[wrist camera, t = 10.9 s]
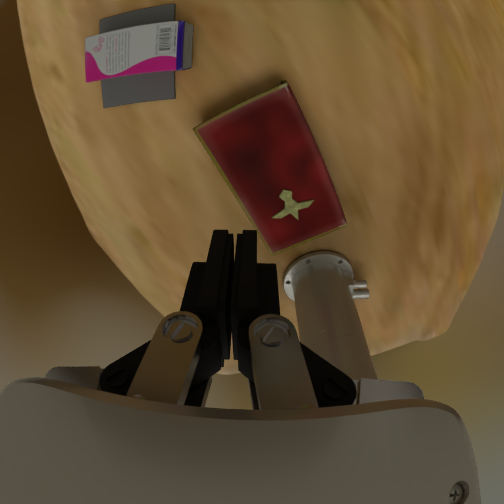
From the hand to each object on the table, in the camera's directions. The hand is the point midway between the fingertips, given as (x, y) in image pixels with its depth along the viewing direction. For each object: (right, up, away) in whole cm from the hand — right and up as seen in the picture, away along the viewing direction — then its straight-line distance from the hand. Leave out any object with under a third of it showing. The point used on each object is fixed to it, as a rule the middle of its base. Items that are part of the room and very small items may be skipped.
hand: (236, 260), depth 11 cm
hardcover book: (+4, +12, +25) cm, 28 cm away
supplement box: (-6, +22, +12) cm, 26 cm away
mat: (-14, +24, +14) cm, 31 cm away
